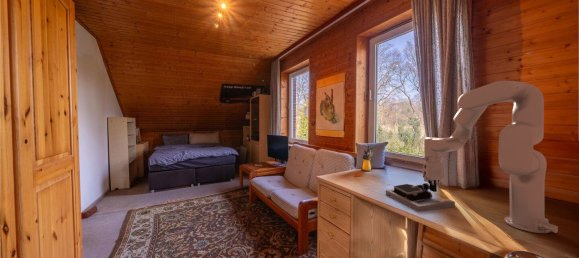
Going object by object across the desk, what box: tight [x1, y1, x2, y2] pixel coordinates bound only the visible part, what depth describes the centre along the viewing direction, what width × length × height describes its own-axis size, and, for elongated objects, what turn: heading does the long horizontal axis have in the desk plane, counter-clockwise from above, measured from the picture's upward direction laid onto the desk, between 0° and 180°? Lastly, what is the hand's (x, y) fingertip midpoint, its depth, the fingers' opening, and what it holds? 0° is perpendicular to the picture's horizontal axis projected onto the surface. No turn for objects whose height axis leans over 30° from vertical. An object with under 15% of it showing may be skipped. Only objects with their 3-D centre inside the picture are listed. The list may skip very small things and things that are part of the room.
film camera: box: [393, 182, 433, 203], centre depth 122 cm, size 8×16×15 cm
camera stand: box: [385, 188, 456, 212], centre depth 119 cm, size 26×21×2 cm
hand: (433, 191), depth 121 cm, fingers closed
